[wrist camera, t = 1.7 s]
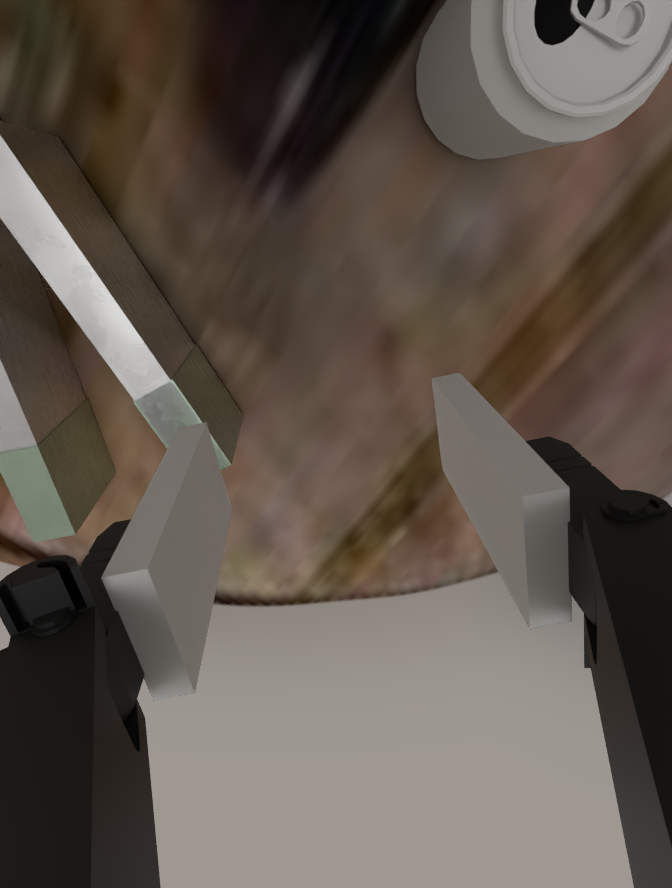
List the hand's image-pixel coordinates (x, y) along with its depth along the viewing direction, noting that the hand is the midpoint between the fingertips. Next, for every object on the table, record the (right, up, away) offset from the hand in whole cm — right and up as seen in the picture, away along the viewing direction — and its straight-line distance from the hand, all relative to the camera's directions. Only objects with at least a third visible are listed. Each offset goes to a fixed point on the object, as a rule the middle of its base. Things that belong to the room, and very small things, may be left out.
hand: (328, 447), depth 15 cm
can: (+8, +19, +13) cm, 24 cm away
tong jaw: (-10, +8, +16) cm, 21 cm away
